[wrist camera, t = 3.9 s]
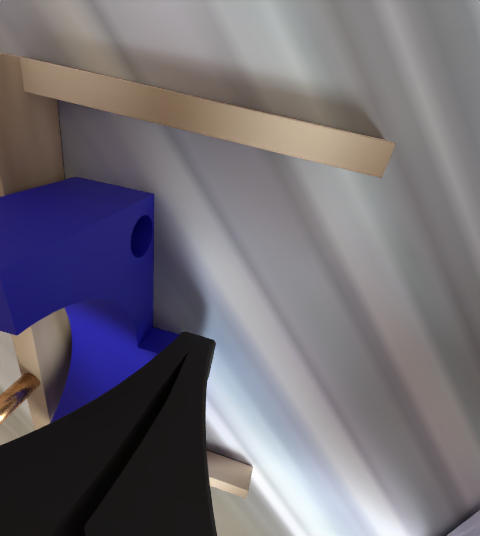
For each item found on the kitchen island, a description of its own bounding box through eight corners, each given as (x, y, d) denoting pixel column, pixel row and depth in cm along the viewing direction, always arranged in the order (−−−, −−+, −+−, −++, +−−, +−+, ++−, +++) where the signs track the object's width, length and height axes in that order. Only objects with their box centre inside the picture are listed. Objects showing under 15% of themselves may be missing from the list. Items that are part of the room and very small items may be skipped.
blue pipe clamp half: (179, 417, 16) (114, 562, 11) (103, 393, 17) (7, 521, 11) (196, 201, 10) (74, 292, 5) (79, 175, 11) (-139, 233, 6)
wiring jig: (385, 139, 8) (448, 163, 4) (249, 474, 17) (230, 581, 13) (24, 56, 9) (-185, 16, 5) (72, 410, 18) (5, 492, 14)
